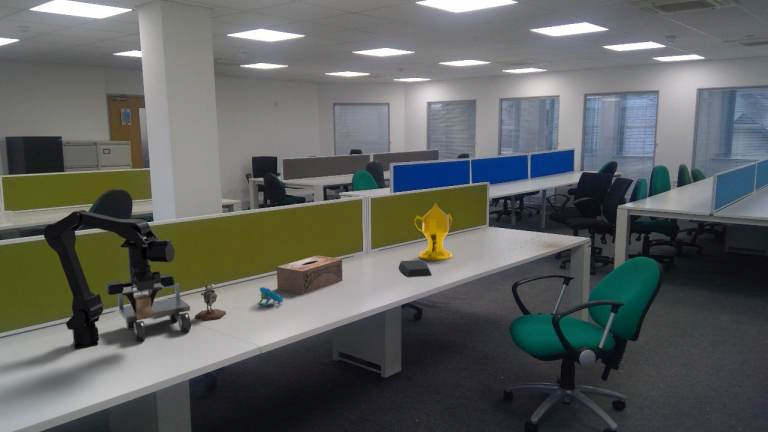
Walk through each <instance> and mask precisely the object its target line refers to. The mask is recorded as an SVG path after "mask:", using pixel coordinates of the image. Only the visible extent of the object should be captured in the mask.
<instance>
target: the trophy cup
mask: <svg viewBox="0 0 768 432" xmlns="http://www.w3.org/2000/svg"><path fill="white" fill-rule="evenodd" d="M417 220H420V221H422V226H421V228H422V229H421V228H419V227H418V225H417V223H416V221H417ZM413 221H414V225H415V227H416V229H418V231H420V232H421V233H423V235H424V236H425V238H426V240H427V247H426V248H425V249H423V250H420V252H419V253H418V257H419V258H420V259H423V260H427V261H440V260H441V261H442V260H448V259H451V258H452V256H453V251H450V250H449V249H446V248H445V246H444V239H445V237H446V236H447V235H448V233H449V230H451V226H452V222H453V217H452V216H451V214H450V213H448V214H447V213H445V212H444V211H443V210H442V209H441V208H439V206H438V203H434V205H433V206H432V208H431V209H429V210H428V211H427V212H426V213H424V215H423V216H420V215H416V216H415V218H414V220H413Z"/></svg>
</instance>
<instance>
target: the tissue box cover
mask: <svg viewBox="0 0 768 432" xmlns="http://www.w3.org/2000/svg"><path fill="white" fill-rule="evenodd" d="M276 280H277V281H276V285H277V290H279V291H286V292H290V293H294V294H298V295H299V294H301V295H305V294H308V293H312V292H314V291H316V290H319V289H324V288H325V287H328V286H331V285H334V284H337V283H340V282H343V259H342V258H338V257H337V258H336V257H330V256H323V255H314V256H310V257H306V258H303V259H300V260H296V261H293V262H289V263H286V264H282V265H278V266H276Z"/></svg>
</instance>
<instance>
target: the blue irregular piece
mask: <svg viewBox="0 0 768 432" xmlns="http://www.w3.org/2000/svg"><path fill="white" fill-rule="evenodd" d="M259 290H260V291H259V292H260V298H261V299H260V300H259V301H258V304H259V305H261V304H262V302H263V300H266V301H265V302H264V304H263V306H264V307H267V306H268V304H269V302H270V301H273V302H275V303H276V302H277V303H278V304H280V303H283V301H284V299H283V297H281V295H280V294H278V293H276V291H274V290H270V288H269V287H264V286H262V287H260V288H259Z"/></svg>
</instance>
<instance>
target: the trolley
mask: <svg viewBox="0 0 768 432" xmlns="http://www.w3.org/2000/svg"><path fill="white" fill-rule="evenodd" d="M161 287H162V290H163V289H171V288H174V294H175V297H173V298H168V299H163V300H162V299H161V300H156V301H155V300H154V301H153V305H152V308H151V309H152V317H149V318H144V319H137V317H136V316H135V315H134V311H133V309H132V306H131V305H128V306H124V300H123V297H124V296H123V295H122V294H117V299H118V300H117V301H118V312H119V314H120V315H121V317H122V318H123V319H124V320H125V323H126V328H127V329H128V330H132V329H133V333H134V337H135V341H137V342H138V341H144V340H146V339H147V330H146V329H147V328H146V325H145V322H144V320H145V319H148V320H149V319H152V318H159V317H158V316H161V317H163V316H164V315H165V316H168V318H169V321H170V322H174V321H178V326H179V331H180V332H181V333H183V332H187V331H191V328H192V323H191V322H192V321H191V317H190V315H189V313H188V312H190V311H191V307H190V304H189V303H187V302H186V301H185V300H183V299H182V298H181V290H180V283H174V285H173V286H167V287H164V286H163V285H161ZM131 291H132V292H133V293H134V294H140V293H144V292H148V290H143V291H138V290H137V289H134V290H131ZM165 316H164V317H165Z"/></svg>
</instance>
